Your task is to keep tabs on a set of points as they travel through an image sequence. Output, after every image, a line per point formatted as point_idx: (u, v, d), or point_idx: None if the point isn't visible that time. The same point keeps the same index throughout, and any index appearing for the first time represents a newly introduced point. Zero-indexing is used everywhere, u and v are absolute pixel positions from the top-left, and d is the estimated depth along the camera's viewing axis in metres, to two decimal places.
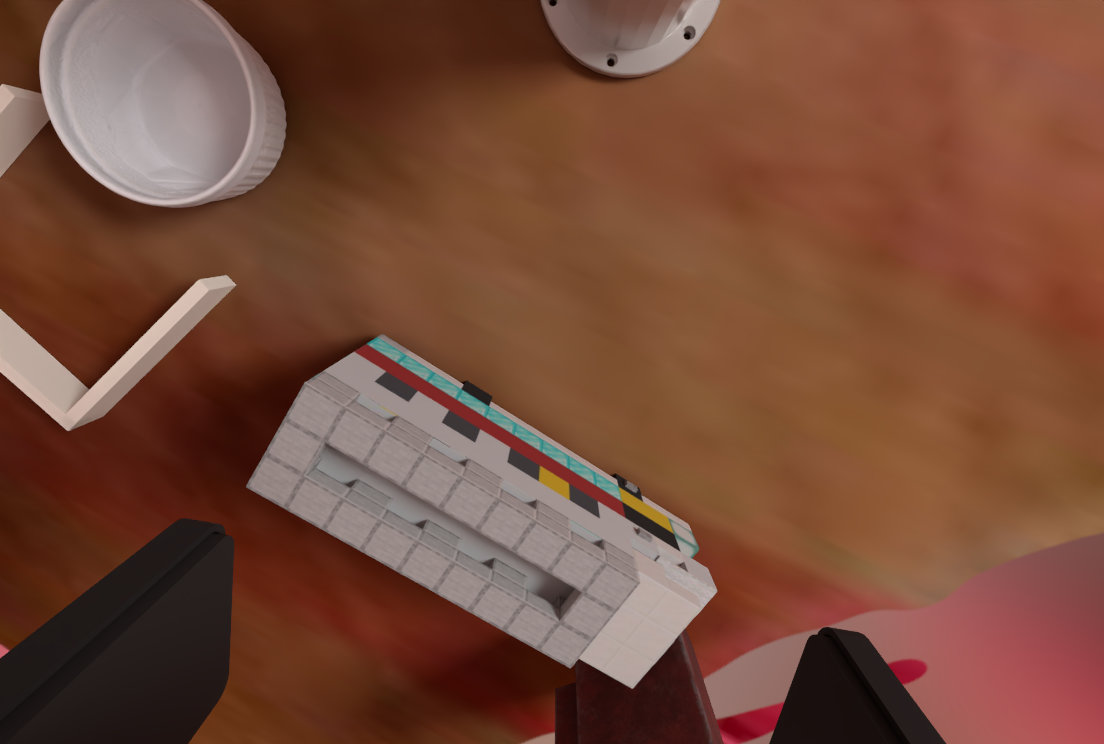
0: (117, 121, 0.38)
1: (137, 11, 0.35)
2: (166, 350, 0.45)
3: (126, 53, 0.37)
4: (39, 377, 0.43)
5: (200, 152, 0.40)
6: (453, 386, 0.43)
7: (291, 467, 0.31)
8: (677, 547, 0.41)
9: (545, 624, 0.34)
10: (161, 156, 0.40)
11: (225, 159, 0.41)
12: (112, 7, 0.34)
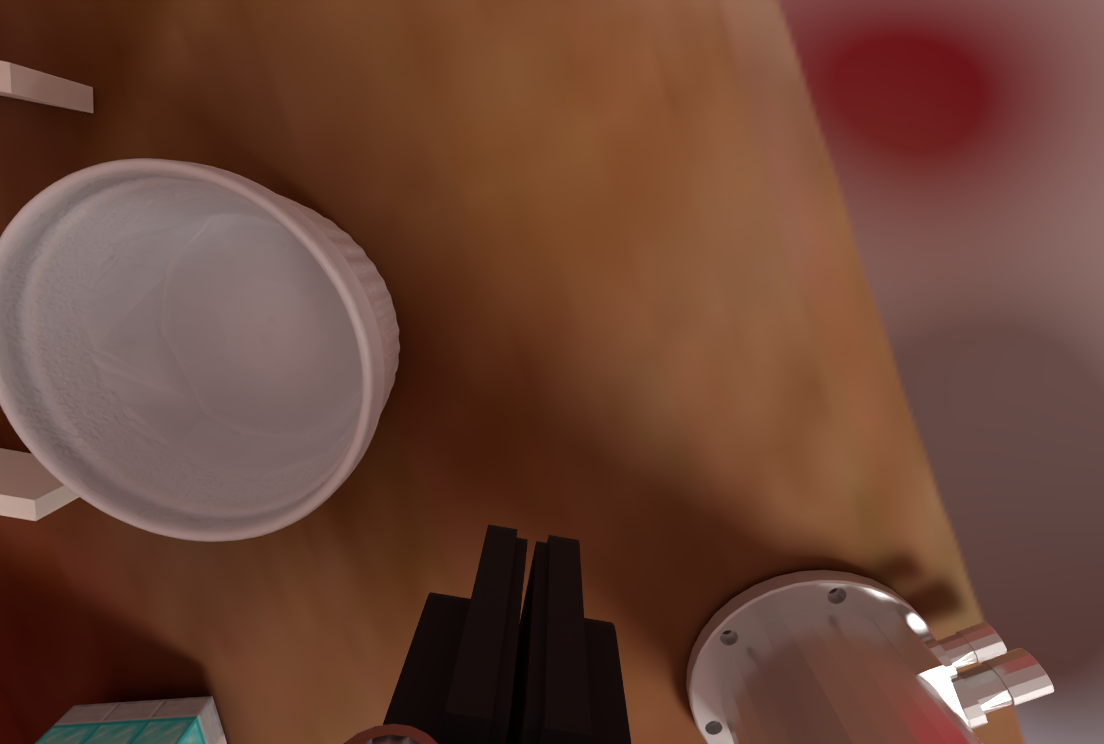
0: (136, 250, 0.22)
1: None
2: None
3: (237, 207, 0.21)
4: None
5: (213, 356, 0.24)
6: None
7: None
8: None
9: None
10: (159, 312, 0.24)
11: (236, 392, 0.25)
12: None
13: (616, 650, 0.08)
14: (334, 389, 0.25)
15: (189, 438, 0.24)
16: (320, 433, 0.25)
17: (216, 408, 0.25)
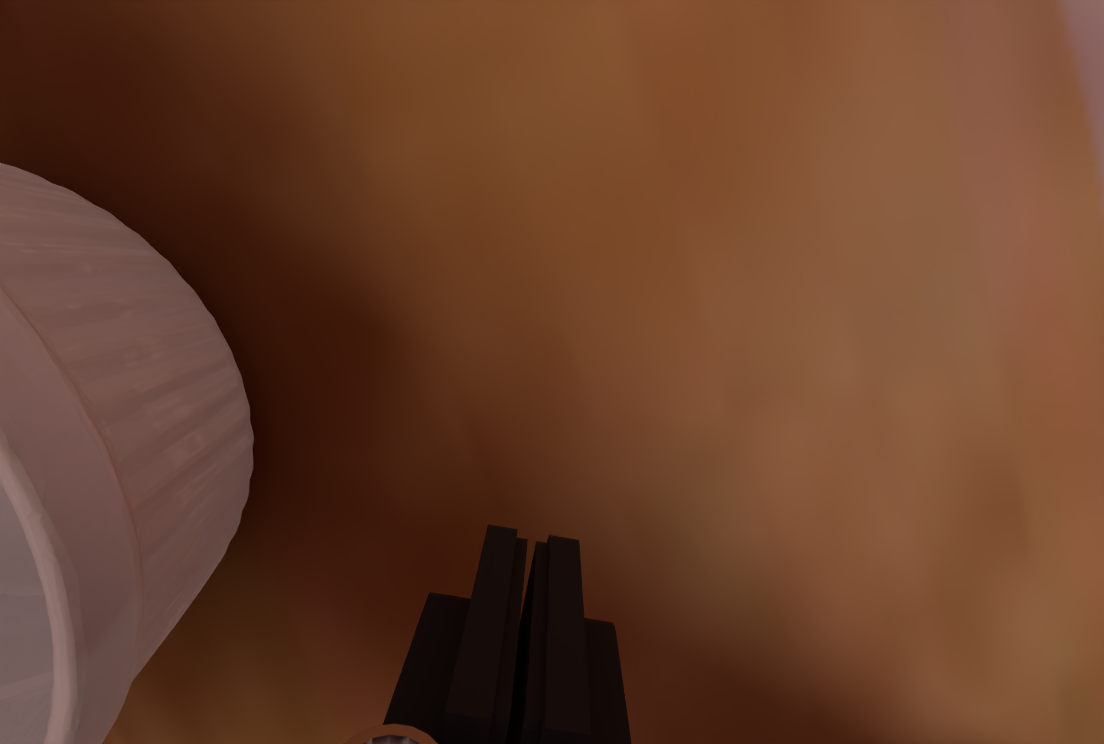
0: None
1: None
2: None
3: None
4: None
5: None
6: None
7: None
8: None
9: None
10: None
11: None
12: None
13: (616, 650, 0.08)
14: None
15: None
16: None
17: None
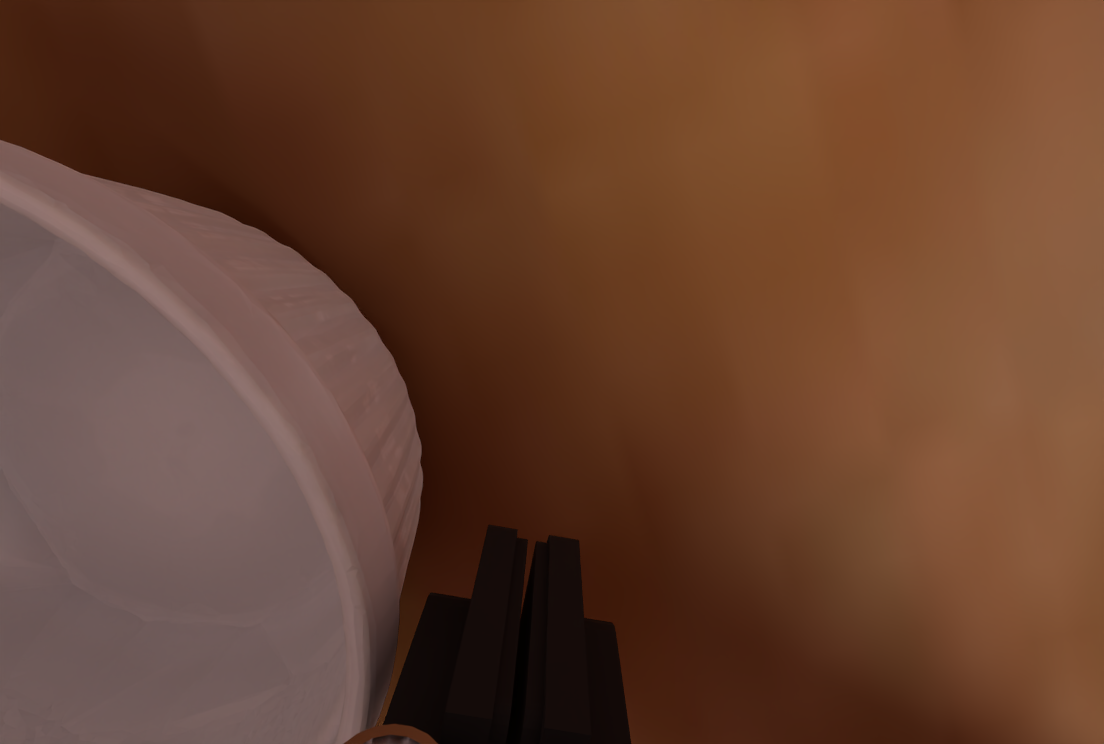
0: None
1: None
2: None
3: None
4: None
5: (84, 491, 0.13)
6: None
7: None
8: None
9: None
10: None
11: (130, 551, 0.14)
12: None
13: (616, 650, 0.08)
14: (304, 545, 0.14)
15: (35, 649, 0.13)
16: (279, 623, 0.14)
17: (96, 577, 0.14)
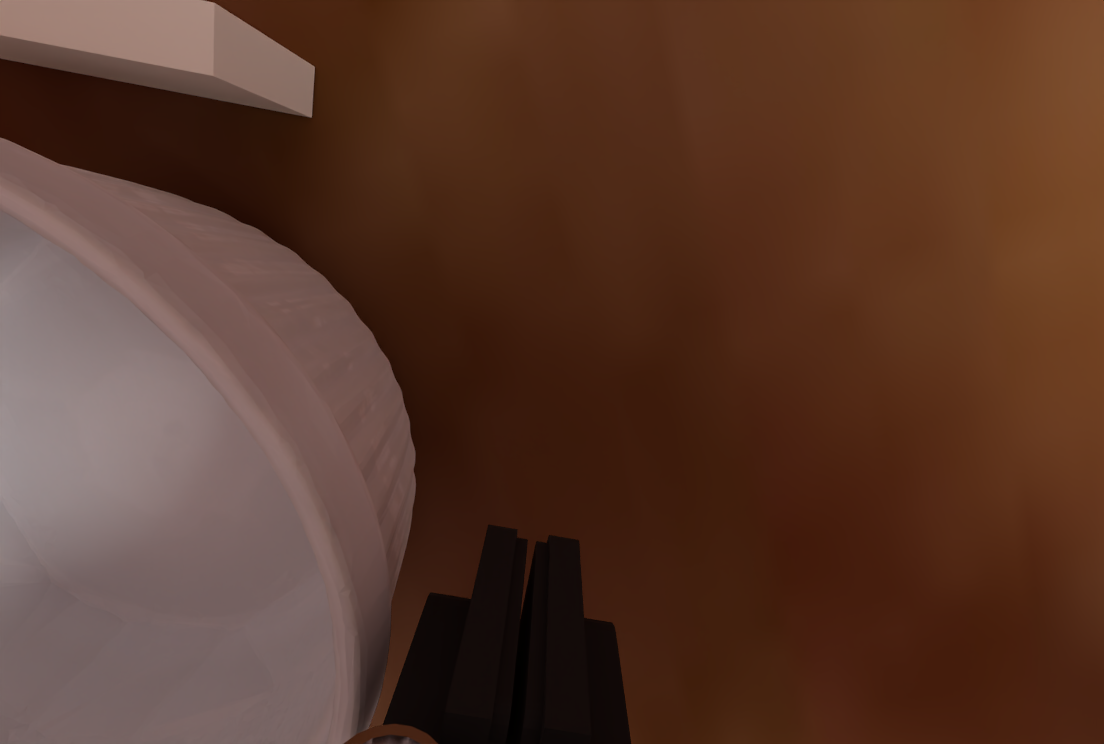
0: None
1: None
2: None
3: None
4: None
5: (66, 489, 0.13)
6: None
7: None
8: None
9: None
10: None
11: (111, 550, 0.14)
12: None
13: (616, 650, 0.08)
14: (292, 549, 0.14)
15: (10, 649, 0.13)
16: (264, 628, 0.14)
17: (76, 576, 0.14)
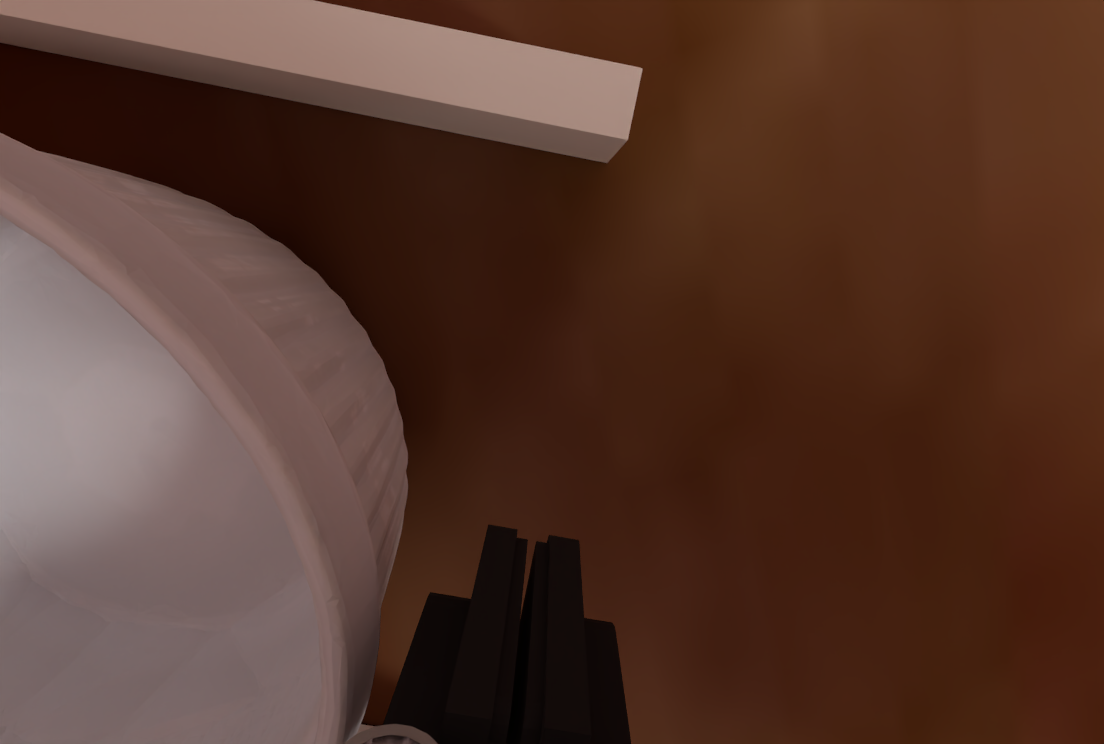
0: None
1: None
2: None
3: None
4: None
5: (49, 485, 0.13)
6: None
7: None
8: None
9: None
10: None
11: (95, 549, 0.13)
12: None
13: (616, 650, 0.08)
14: (280, 550, 0.13)
15: None
16: (250, 630, 0.13)
17: (57, 574, 0.13)
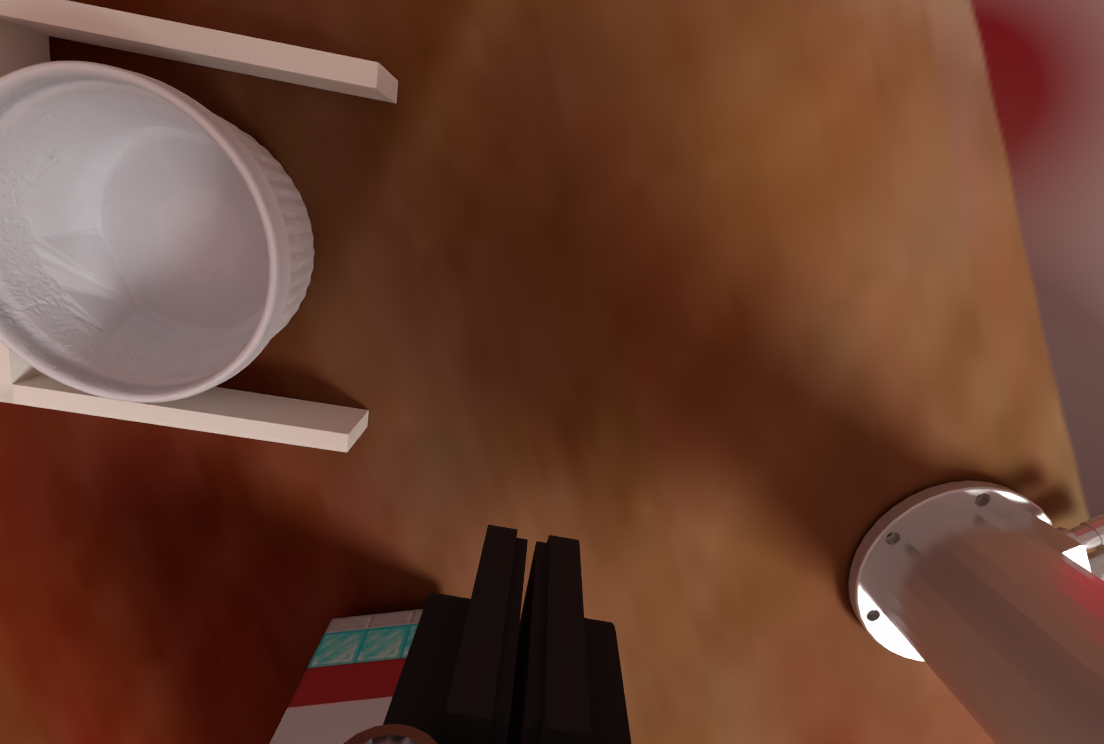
0: (74, 153, 0.25)
1: None
2: None
3: (165, 118, 0.25)
4: None
5: (146, 257, 0.28)
6: None
7: None
8: None
9: None
10: (96, 214, 0.27)
11: (168, 290, 0.28)
12: (183, 113, 0.22)
13: (616, 650, 0.08)
14: (256, 290, 0.28)
15: (123, 326, 0.27)
16: (243, 328, 0.28)
17: (149, 305, 0.28)
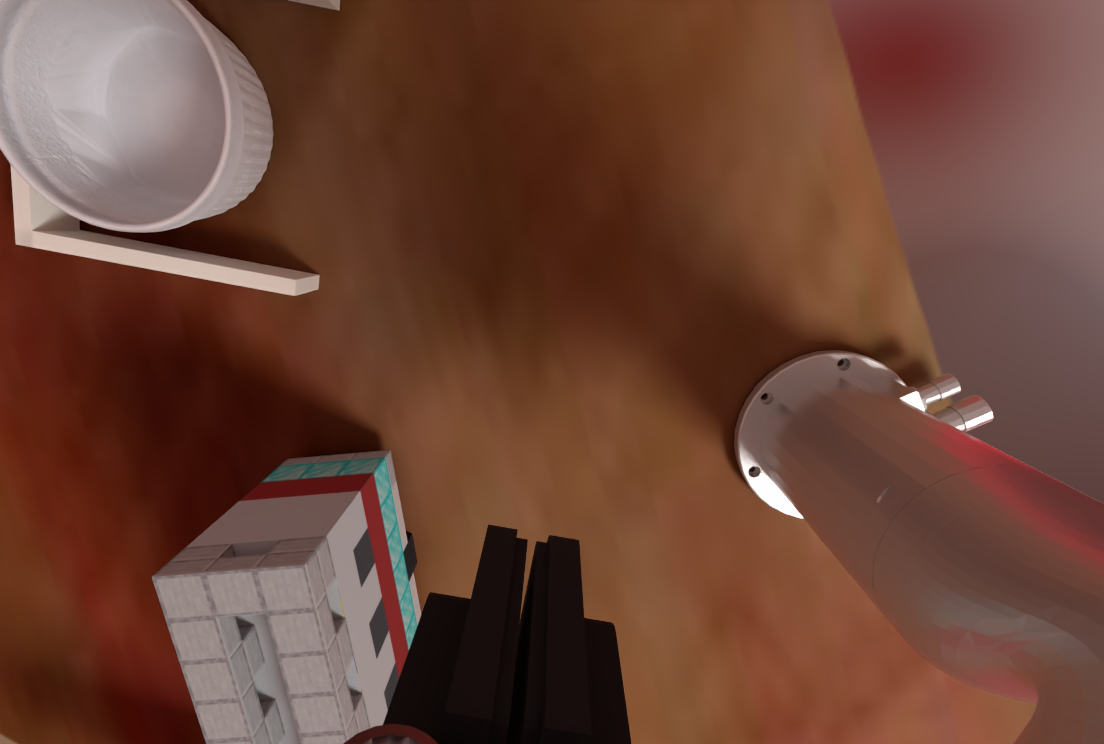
0: (84, 43, 0.32)
1: None
2: None
3: (155, 15, 0.31)
4: None
5: (140, 135, 0.34)
6: (400, 548, 0.40)
7: (212, 602, 0.27)
8: None
9: None
10: (102, 98, 0.34)
11: (157, 164, 0.35)
12: (164, 0, 0.29)
13: (616, 650, 0.08)
14: None
15: (120, 188, 0.34)
16: None
17: (142, 176, 0.35)
